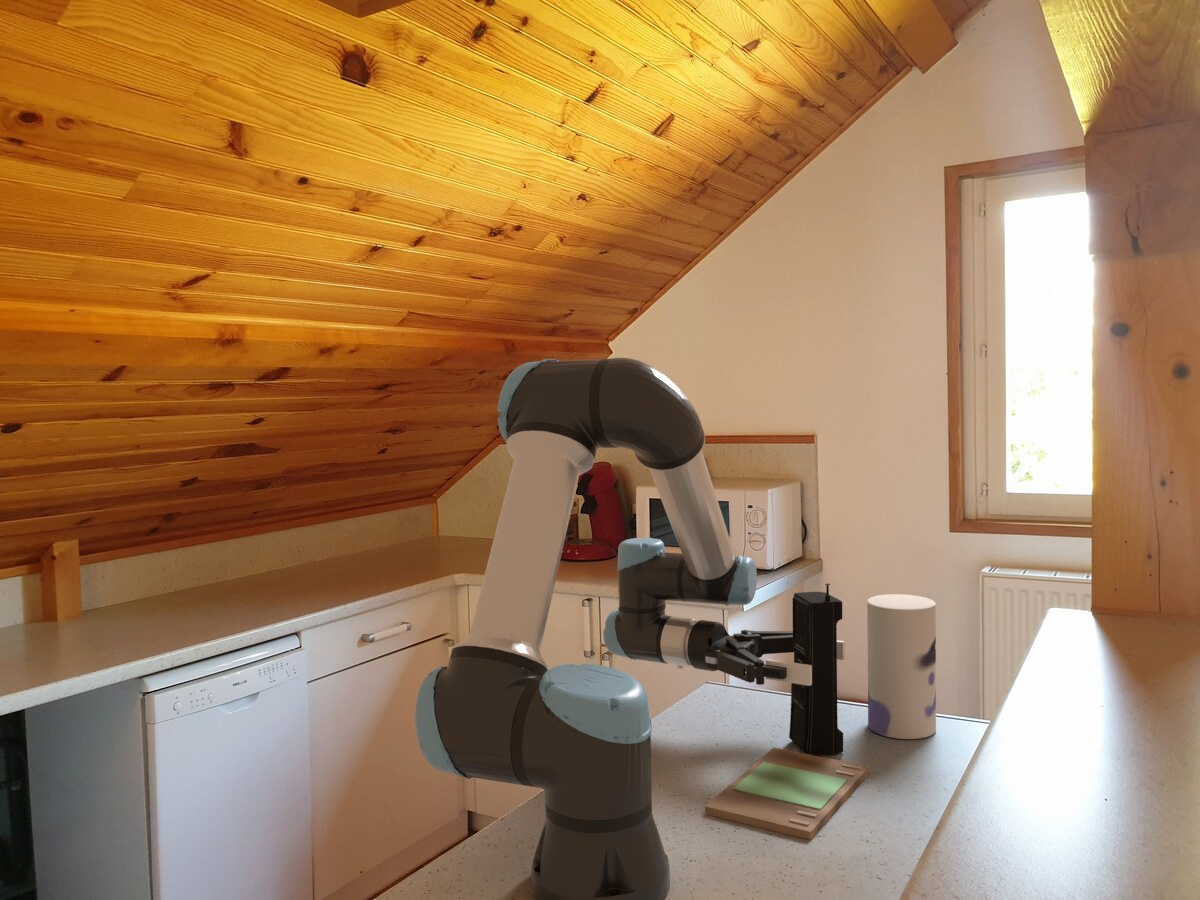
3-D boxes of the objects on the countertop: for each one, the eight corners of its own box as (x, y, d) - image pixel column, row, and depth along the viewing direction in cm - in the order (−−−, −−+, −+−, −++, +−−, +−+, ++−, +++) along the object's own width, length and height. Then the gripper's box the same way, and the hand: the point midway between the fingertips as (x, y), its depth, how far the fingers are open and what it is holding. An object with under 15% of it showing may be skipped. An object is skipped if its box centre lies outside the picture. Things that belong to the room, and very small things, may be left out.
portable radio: (785, 738, 147) (782, 575, 145) (822, 735, 148) (820, 573, 146) (805, 758, 139) (802, 587, 137) (844, 754, 140) (843, 584, 138)
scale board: (810, 840, 115) (810, 830, 115) (704, 813, 123) (704, 804, 123) (869, 773, 133) (869, 765, 133) (774, 754, 141) (773, 746, 141)
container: (940, 741, 144) (940, 609, 142) (870, 738, 146) (869, 607, 144) (931, 718, 154) (931, 593, 152) (865, 715, 156) (865, 592, 154)
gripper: (731, 647, 162) (856, 665, 151) (657, 690, 141) (795, 714, 130) (730, 603, 161) (855, 617, 150) (656, 639, 141) (795, 659, 129)
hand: (828, 662), depth 140 cm, fingers open, 13 cm apart
